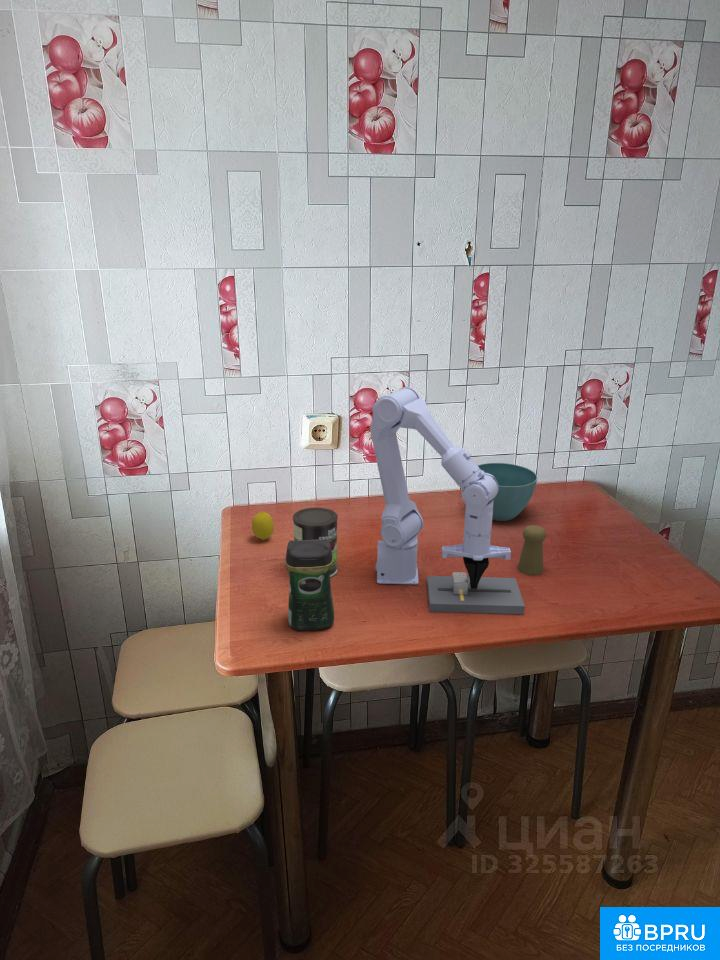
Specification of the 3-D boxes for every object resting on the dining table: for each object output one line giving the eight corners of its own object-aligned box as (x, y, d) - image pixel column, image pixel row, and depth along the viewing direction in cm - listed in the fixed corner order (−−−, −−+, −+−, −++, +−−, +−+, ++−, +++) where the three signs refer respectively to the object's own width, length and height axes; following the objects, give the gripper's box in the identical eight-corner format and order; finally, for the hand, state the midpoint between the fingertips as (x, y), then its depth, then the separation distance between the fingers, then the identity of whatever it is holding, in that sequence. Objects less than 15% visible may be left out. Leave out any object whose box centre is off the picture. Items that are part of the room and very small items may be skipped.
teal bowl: (472, 498, 211) (475, 459, 207) (536, 506, 206) (540, 466, 202) (461, 523, 195) (463, 481, 191) (529, 533, 190) (533, 490, 186)
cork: (525, 577, 168) (529, 534, 164) (513, 564, 174) (517, 523, 170) (548, 573, 170) (553, 531, 166) (535, 561, 175) (540, 520, 171)
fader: (453, 594, 157) (454, 582, 156) (451, 584, 161) (452, 572, 160) (467, 594, 157) (468, 582, 156) (465, 584, 161) (466, 572, 160)
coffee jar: (332, 610, 154) (332, 532, 148) (335, 631, 147) (334, 550, 140) (287, 612, 154) (284, 533, 147) (287, 633, 146) (284, 552, 139)
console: (429, 611, 154) (430, 603, 153) (427, 583, 165) (427, 575, 165) (523, 614, 154) (524, 605, 153) (514, 585, 165) (515, 577, 164)
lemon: (248, 543, 184) (247, 514, 181) (258, 534, 189) (257, 506, 186) (268, 546, 182) (267, 517, 179) (277, 537, 187) (276, 508, 184)
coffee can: (346, 568, 172) (346, 514, 167) (318, 585, 164) (317, 529, 159) (313, 555, 178) (312, 503, 172) (285, 571, 170) (283, 517, 165)
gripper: (444, 538, 150) (441, 594, 155) (514, 539, 149) (509, 596, 154) (442, 523, 156) (439, 578, 161) (509, 525, 156) (504, 580, 161)
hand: (473, 586), depth 158 cm, fingers closed
